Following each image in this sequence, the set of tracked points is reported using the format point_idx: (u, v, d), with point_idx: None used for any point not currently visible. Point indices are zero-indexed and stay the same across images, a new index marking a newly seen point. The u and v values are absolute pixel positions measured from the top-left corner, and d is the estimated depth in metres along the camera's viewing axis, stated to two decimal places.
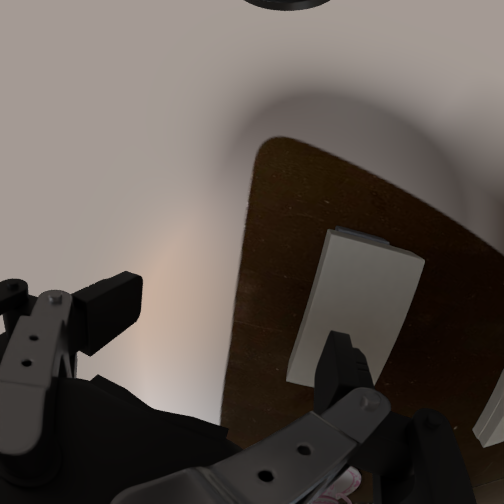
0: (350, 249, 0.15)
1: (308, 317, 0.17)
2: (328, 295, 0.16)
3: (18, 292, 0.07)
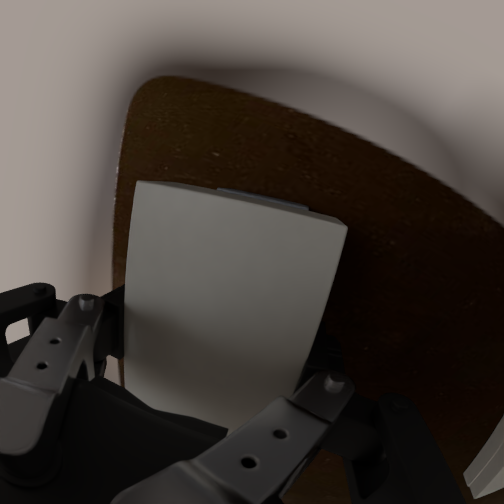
0: (169, 206, 0.08)
1: (124, 332, 0.09)
2: (144, 296, 0.08)
3: (46, 297, 0.07)
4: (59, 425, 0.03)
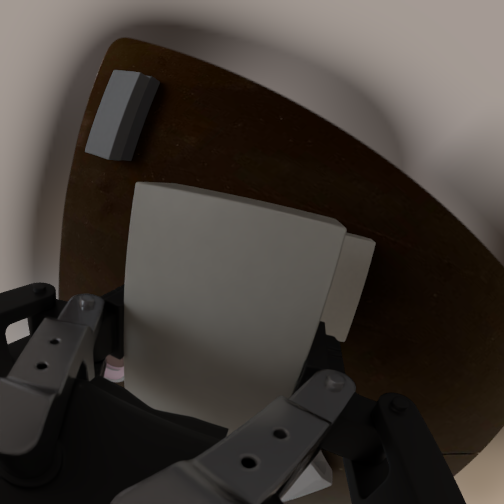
0: (169, 207, 0.08)
1: (124, 333, 0.09)
2: (143, 297, 0.08)
3: (46, 297, 0.07)
4: (59, 425, 0.03)
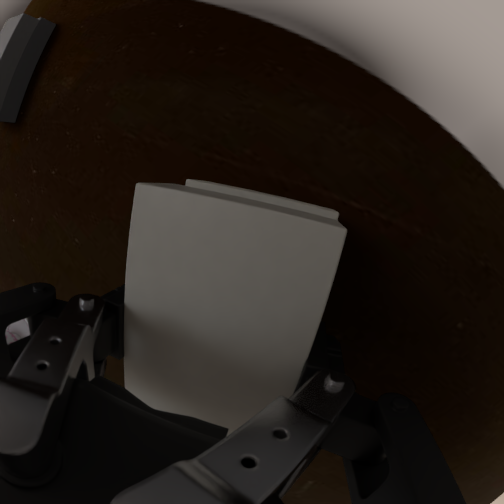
0: (169, 207, 0.08)
1: (124, 333, 0.09)
2: (143, 298, 0.08)
3: (46, 297, 0.07)
4: (59, 425, 0.03)
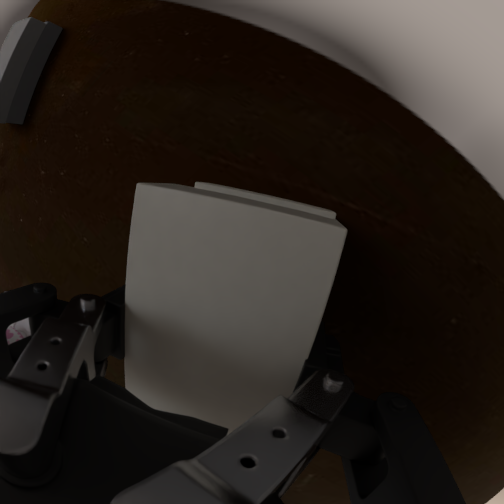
0: (170, 208, 0.08)
1: (125, 333, 0.09)
2: (144, 298, 0.08)
3: (47, 297, 0.07)
4: (59, 425, 0.03)
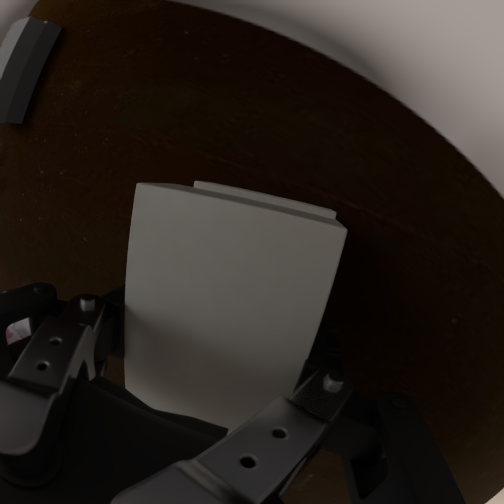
0: (170, 208, 0.08)
1: (125, 333, 0.09)
2: (144, 298, 0.08)
3: (47, 297, 0.07)
4: (59, 425, 0.03)
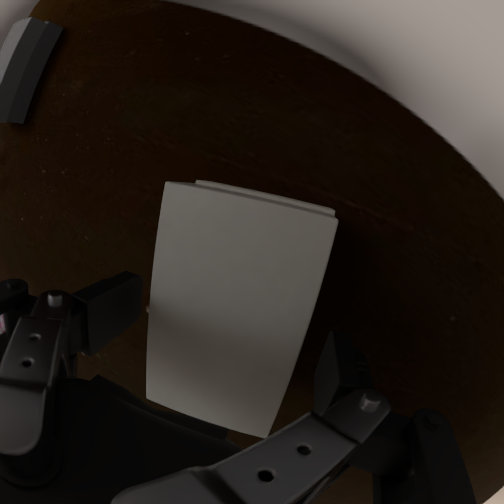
0: (194, 202, 0.10)
1: (150, 311, 0.11)
2: (169, 279, 0.10)
3: (18, 292, 0.07)
4: (53, 419, 0.03)
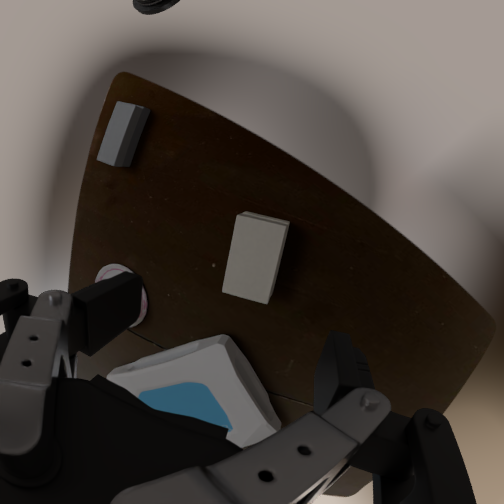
0: (246, 221, 0.34)
1: (229, 255, 0.35)
2: (237, 243, 0.35)
3: (18, 292, 0.07)
4: (53, 419, 0.03)
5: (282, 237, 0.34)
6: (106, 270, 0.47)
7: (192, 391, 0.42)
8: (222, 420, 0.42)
